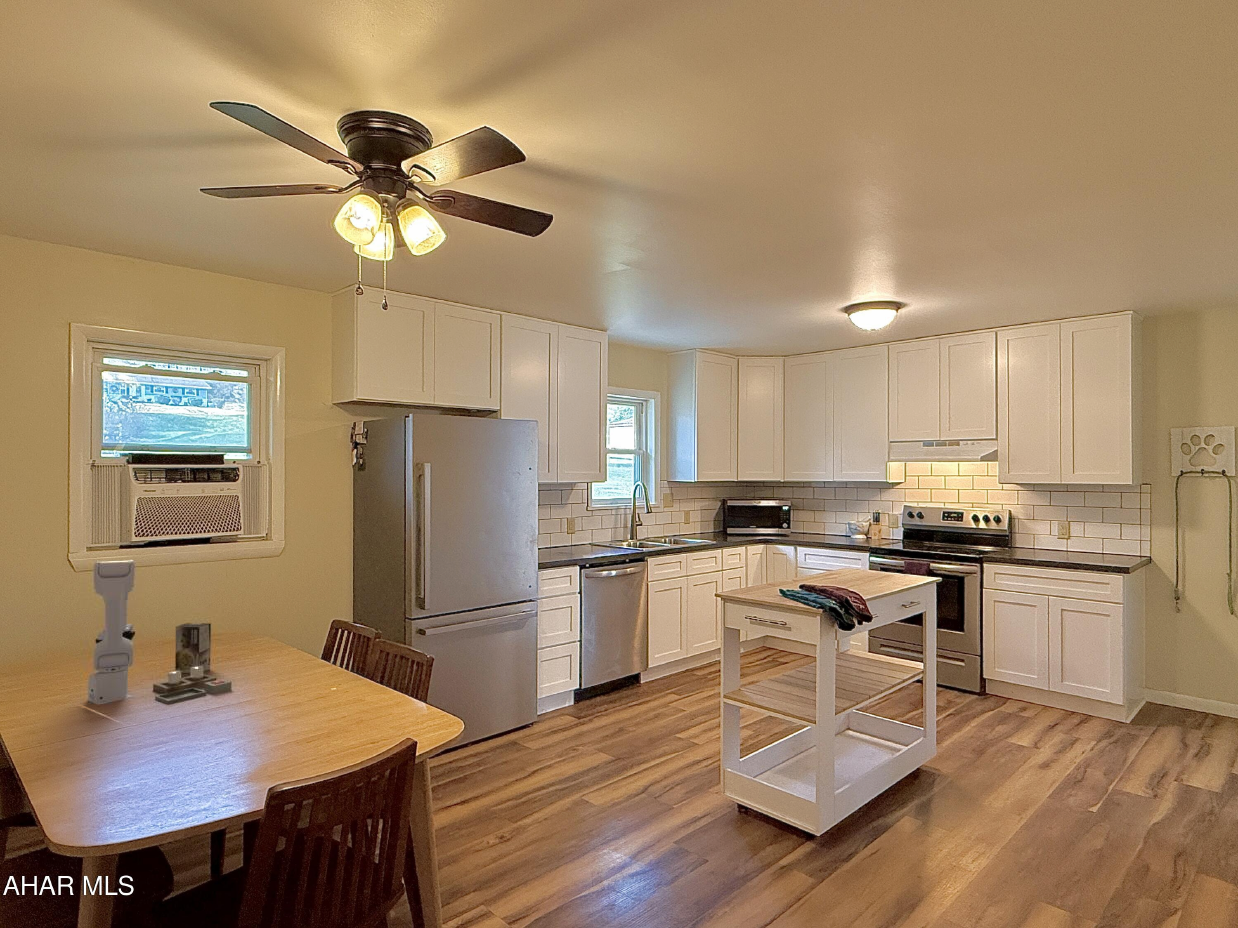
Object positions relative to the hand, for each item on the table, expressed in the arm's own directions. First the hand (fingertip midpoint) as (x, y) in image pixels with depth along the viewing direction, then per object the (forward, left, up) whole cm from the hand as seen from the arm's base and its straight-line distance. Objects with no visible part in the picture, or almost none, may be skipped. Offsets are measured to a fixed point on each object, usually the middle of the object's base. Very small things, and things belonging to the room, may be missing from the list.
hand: (115, 657), depth 234 cm
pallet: (+12, -20, -9) cm, 25 cm away
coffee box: (+24, 0, -10) cm, 26 cm away
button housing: (+16, -32, -9) cm, 37 cm away
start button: (+16, -32, -9) cm, 37 cm away
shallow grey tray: (+6, -30, -9) cm, 32 cm away
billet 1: (+9, -21, -9) cm, 24 cm away
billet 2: (+16, -20, -9) cm, 27 cm away
